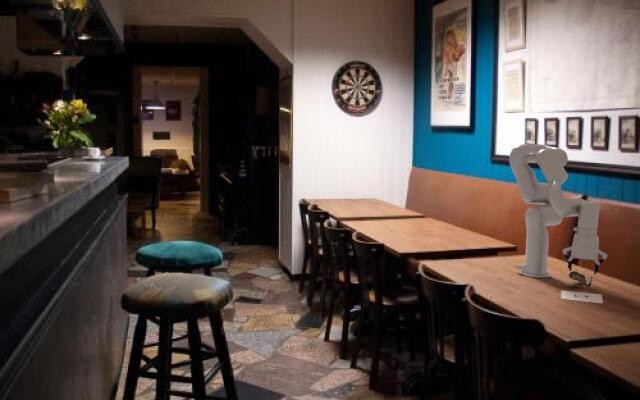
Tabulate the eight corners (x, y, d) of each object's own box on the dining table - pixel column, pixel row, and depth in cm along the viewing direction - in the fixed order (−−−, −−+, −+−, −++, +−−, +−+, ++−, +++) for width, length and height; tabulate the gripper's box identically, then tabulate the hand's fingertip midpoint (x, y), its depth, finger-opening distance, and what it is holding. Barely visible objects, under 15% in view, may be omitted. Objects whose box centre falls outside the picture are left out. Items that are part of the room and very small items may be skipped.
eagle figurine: (589, 283, 267) (567, 277, 270) (594, 271, 262) (571, 266, 265) (588, 296, 262) (565, 290, 264) (593, 284, 257) (570, 279, 259)
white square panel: (560, 298, 246) (560, 298, 246) (561, 290, 258) (561, 290, 258) (602, 303, 240) (602, 303, 240) (601, 294, 253) (601, 294, 253)
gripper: (564, 230, 260) (560, 271, 263) (610, 235, 254) (605, 276, 256) (564, 227, 267) (560, 267, 270) (609, 232, 261) (604, 272, 263)
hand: (582, 271), depth 263 cm, fingers open, 9 cm apart
